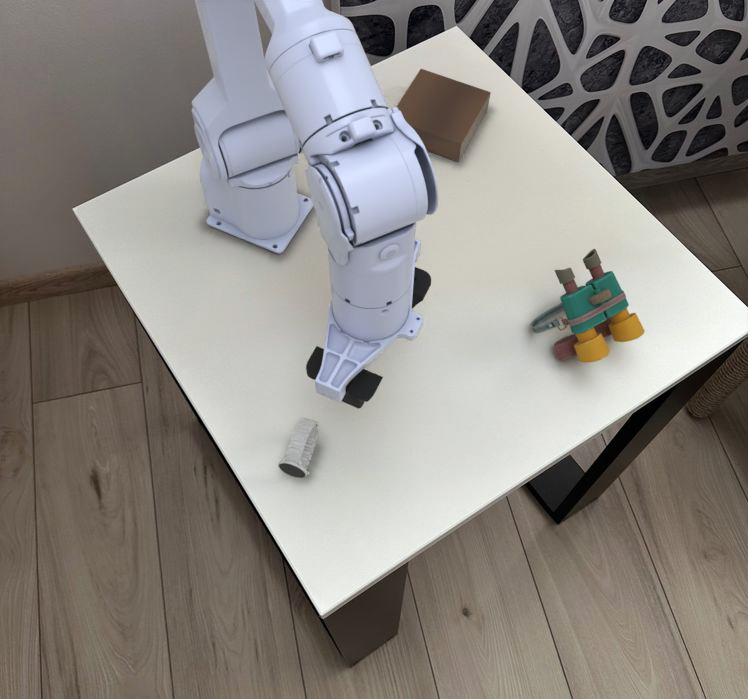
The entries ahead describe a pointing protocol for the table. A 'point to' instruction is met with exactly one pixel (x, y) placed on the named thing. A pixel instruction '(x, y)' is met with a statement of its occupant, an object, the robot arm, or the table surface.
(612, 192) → the table surface
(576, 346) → the binoculars
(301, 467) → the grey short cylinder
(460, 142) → the brown square tile
